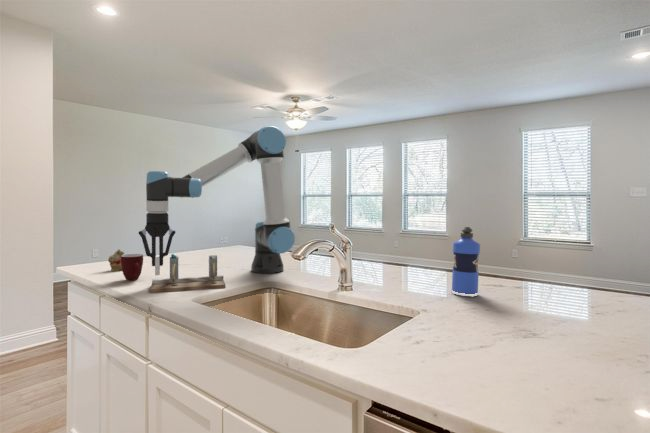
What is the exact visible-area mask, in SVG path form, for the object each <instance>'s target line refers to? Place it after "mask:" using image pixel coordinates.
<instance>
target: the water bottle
mask: <svg viewBox="0 0 650 433" xmlns="http://www.w3.org/2000/svg"><path fill="white" fill-rule="evenodd" d="M461 231H462V232H460V239H458V240H456V241H454V242H452V253H453V266H452V276H451V278H452V279H451V281H452V282H451V291H452V290H453V291H455V292H458V293H465V294H475V293H478V294H479V257H480V253H481V244H480V243H479V242H477V241H476V240H474V239H473V237H474V233H472V232H473V229H472V228H471V227H469V226H464V227H463V228H462V229H461Z"/></svg>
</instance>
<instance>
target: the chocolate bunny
mask: <svg viewBox="0 0 650 433" xmlns="http://www.w3.org/2000/svg"><path fill="white" fill-rule="evenodd" d="M122 255H125V251H123V250H121V248H119V249H117V250H116V251H115V252H114V254H111V255H110V256H109V257H108V263H109V266H110V268H111V269H110V271H111V272H123V271H122V266H121V256H122Z"/></svg>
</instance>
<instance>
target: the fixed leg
mask: <svg viewBox="0 0 650 433" xmlns="http://www.w3.org/2000/svg"><path fill="white" fill-rule="evenodd" d="M208 276H209V277H213V279H215V276H218V256H217V255H216V254H214V255H208Z"/></svg>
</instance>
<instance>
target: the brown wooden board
mask: <svg viewBox="0 0 650 433" xmlns="http://www.w3.org/2000/svg"><path fill="white" fill-rule="evenodd" d="M222 288H223V289H225V288H226V283H225V280H224V275H217V276H215V279H213V277H209V275H208V276H193V277H192V276H191V277H178V279H175V281H173V279H170V278H158V279H156V278H154V279H152V280H151V286H150V289H149V293H150V294H151V293H152V292H154V293H165V292H167V293H168V292H178V291H180V292H181V291H182V292H183V291H193V290H207V289H208V290H212V289H222Z"/></svg>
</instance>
